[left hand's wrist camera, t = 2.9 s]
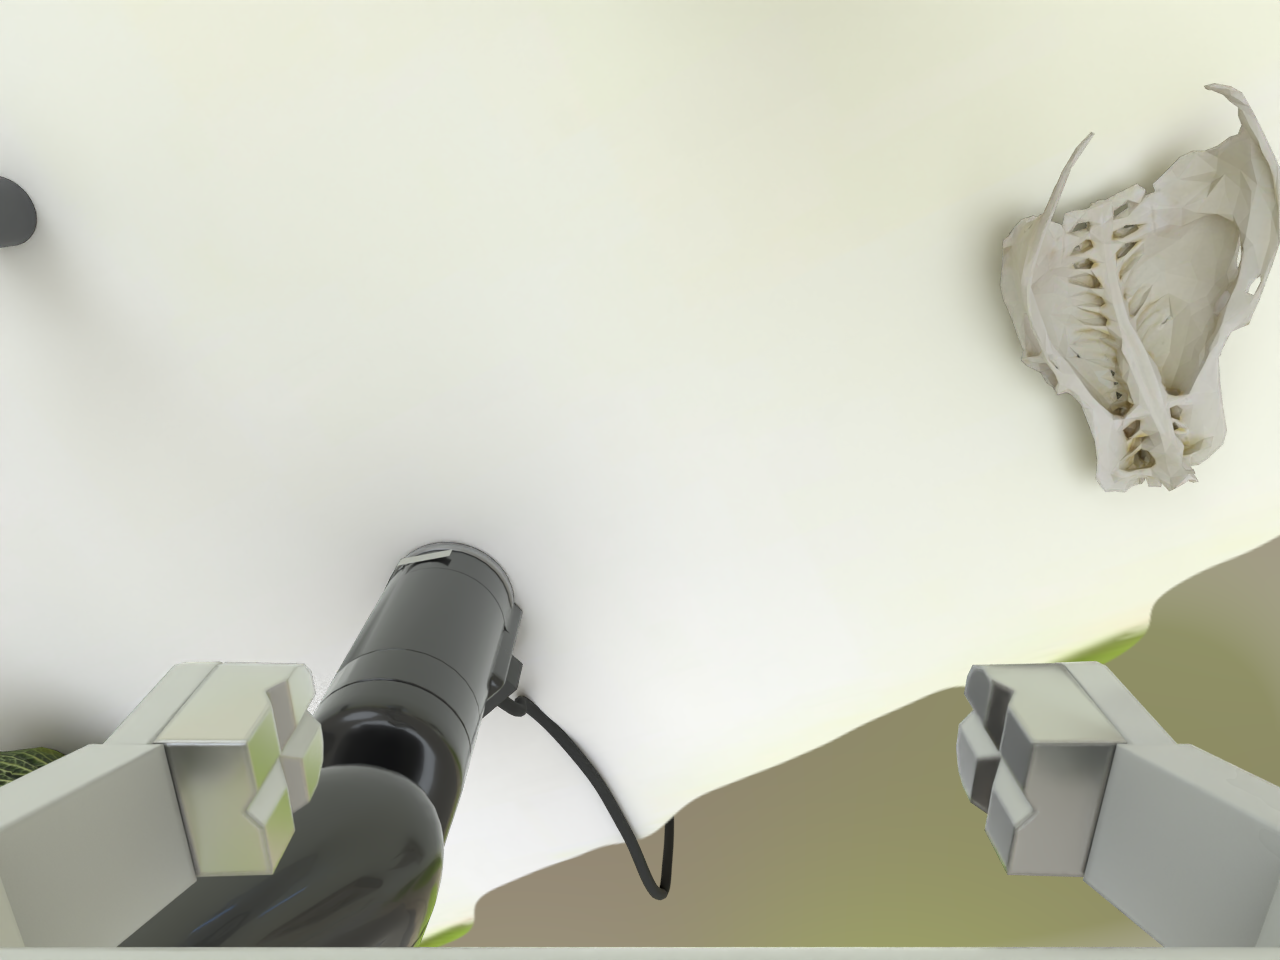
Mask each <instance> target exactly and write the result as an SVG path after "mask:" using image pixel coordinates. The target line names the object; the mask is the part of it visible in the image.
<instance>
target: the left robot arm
mask: <svg viewBox="0 0 1280 960" xmlns="http://www.w3.org/2000/svg"><path fill="white" fill-rule="evenodd" d="M315 694H316V692H315V687H314V682H313V677H312V672H311V670H310V669H309V668H308V667H307V666H306V665H305V664H293V663H245V662H225V663H222V662H184V663H180V664H176V665H174V666H173V667H172V668H171V669H170V671H169V672H168V673H167V674H166V675H165V676H164V677H163V678H162V679H161V680H160V682H159V683H158V684H157V685H156V686H155V687H154V688H153V689H152V690H151V691H150V693H149V694H148V695H147V696H146V697H145V698H144V699H143V700H142V701H141V702H140V704H139V705H138V706H137V707H136V708H135V709H134V710H133V711H132V712H131V713H130V715H129V716H128V717H127V718H126V719H125V720H124V721H123V722H122V723H121V724H120V726H119V727H118V728H117V729H116V730H115V731H114V732H113V733H112V734H111V735H110V737H109V738H108V739H107V740H106V741H105V742H104V743H103V744H88V745H86V746H84V747H82V748H80V749H78V750H76V751H74V752H72V753H70V754H68V755H66V756H64V757H61V758H59V759H57V760H55V761H53V762H51V763H49V764H47V765H45V766H43V767H41V768H39V769H37V770H35V771H33V772H30V773H28V774H26V775H24V776H22V777H20V778H18V779H16V780H14V781H12V782H10V783H8V784H6V785H4V786H2V787H0V960H1280V787H1278V786H1276V785H1274V784H1272V783H1270V782H1268V781H1266V780H1264V779H1262V778H1260V777H1258V776H1256V775H1254V774H1251V773H1249V772H1247V771H1245V770H1243V769H1241V768H1239V767H1237V766H1235V765H1233V764H1231V763H1229V762H1227V761H1225V760H1223V759H1221V758H1218V757H1216V756H1214V755H1212V754H1210V753H1208V752H1206V751H1204V750H1202V749H1200V748H1198V747H1196V746H1194V745H1192V744H1177V743H1176V742H1175V741H1174V740H1173V739H1172V738H1171V737H1170V735H1169V734H1168V733H1167V732H1166V731H1165V730H1164V729H1163V728H1162V727H1161V726H1160V724H1159V723H1158V722H1157V721H1156V720H1155V719H1154V718H1153V717H1152V716H1151V715H1150V713H1149V712H1148V711H1147V710H1146V709H1145V708H1144V707H1143V706H1142V705H1141V704H1140V702H1139V701H1138V700H1137V699H1136V698H1135V697H1134V696H1133V695H1132V694H1131V693H1130V691H1129V690H1128V689H1127V688H1126V687H1125V686H1124V685H1123V684H1122V683H1121V682H1120V680H1119V679H1118V678H1117V677H1116V676H1115V675H1114V674H1113V673H1112V672H1111V671H1110V669H1109V668H1108V667H1107V666H1105V665H1103V664H1101V663H1099V662H1096V661H1090V662H1062V663H1045V664H997V665H972V667H971V670H970V672H969V674H968V676H967V681H966V686H965V692H964V694H965V696H966V698H967V700H968V701H969V703H970V705H971V706H972V708H973V711H972V712H971V713H970V714H969V715H968V716H967V717H966V718H965V719H964V720H963V721H962V722H961V723H960V724H959V729H958V737H957V745H956V750H957V762H958V771H959V774H960V778H961V781H962V785H963V788H964V790H965V792H966V794H967V796H968V798H969V800H970V802H971V803H972V804H974V805H975V806H977V807H978V808H979V809H981V810H982V811H984V812H985V813H987V820H986V826H985V832H986V834H987V836H988V838H989V840H990V842H991V844H992V846H993V848H994V849H995V851H996V853H997V855H998V857H999V859H1000V861H1001V863H1002V865H1003V867H1004V869H1005V871H1006V873H1007V874H1008V875H1034V876H1070V877H1084V878H1083V881H1084V882H1086V883H1087V884H1088V885H1089V886H1091V887H1092V888H1093V889H1094V890H1095V891H1097V892H1098V893H1099V894H1100V895H1101V896H1103V897H1104V898H1105V899H1106V900H1107V901H1109V902H1110V903H1111V904H1112V905H1114V906H1115V907H1116V908H1117V909H1118V910H1120V911H1121V912H1122V913H1123V914H1125V915H1126V916H1127V917H1128V918H1129V919H1131V920H1132V921H1133V922H1134V923H1135V924H1137V925H1138V926H1139V927H1140V928H1141V929H1143V930H1144V931H1145V932H1146V933H1148V934H1149V935H1150V936H1151V937H1152V938H1154V939H1155V940H1156V941H1157V942H1158V943H1160V944H1161V945H1162V946H1163V947H117V946H118V945H119V944H121V943H122V942H123V941H124V940H125V939H127V938H128V937H129V936H130V935H132V934H133V933H134V932H135V931H136V930H138V929H139V928H140V927H141V926H142V925H144V924H145V923H146V922H147V921H149V920H150V919H151V918H152V917H153V916H155V915H156V914H157V913H158V912H159V911H161V910H162V909H163V908H164V907H166V906H167V905H168V904H169V903H170V902H172V901H173V900H174V899H175V898H177V897H178V896H179V895H180V894H181V893H183V892H184V891H185V890H186V889H187V888H189V887H190V886H191V885H192V884H194V883H195V882H196V881H197V879H196V877H210V876H245V875H273V873H274V871H275V869H276V867H277V865H278V863H279V861H280V859H281V857H282V855H283V853H284V852H285V850H286V848H287V846H288V844H289V842H290V840H291V838H292V836H293V834H294V832H295V826H294V820H293V813H295V812H296V811H298V810H299V809H301V808H302V807H303V806H305V805H306V804H308V803H309V802H310V800H311V798H312V796H313V794H314V792H315V790H316V787H317V785H318V782H319V778H320V773H321V768H322V764H323V735H322V729H321V724H320V723H319V722H318V721H317V720H316V719H315V718H314V717H313V716H312V715H311V714H310V713H309V712H308V711H307V708H308V706H309V705H310V703H311V701H312V700H313V698H314V696H315Z"/></svg>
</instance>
